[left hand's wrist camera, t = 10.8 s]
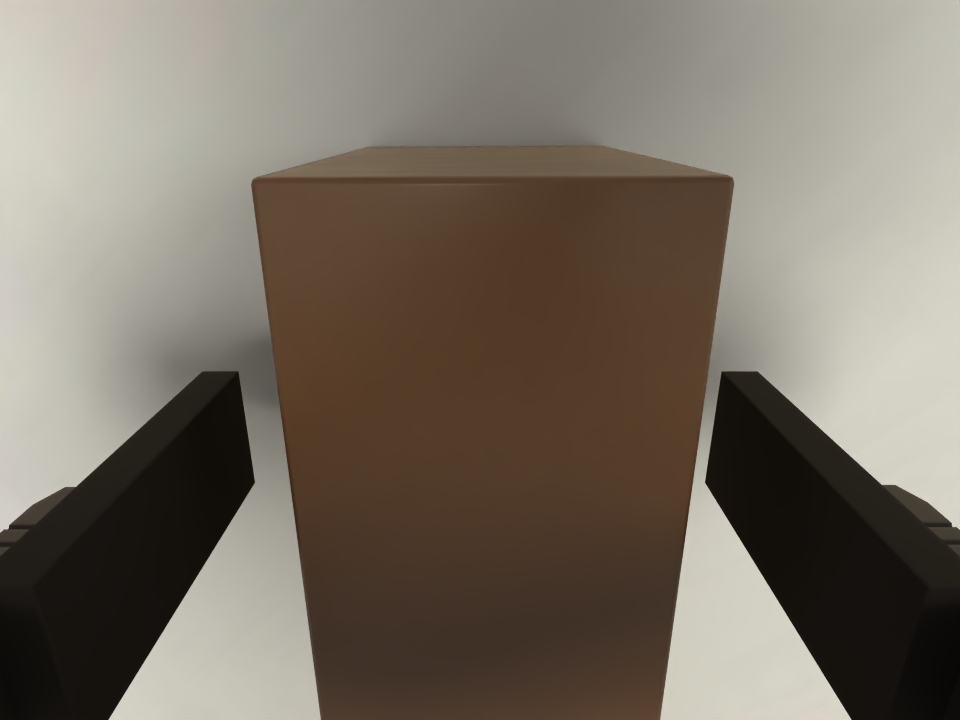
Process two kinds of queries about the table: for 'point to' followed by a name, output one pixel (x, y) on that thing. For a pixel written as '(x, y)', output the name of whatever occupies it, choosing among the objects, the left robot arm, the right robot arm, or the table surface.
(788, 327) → the table surface
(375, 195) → the beam
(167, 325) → the table surface
